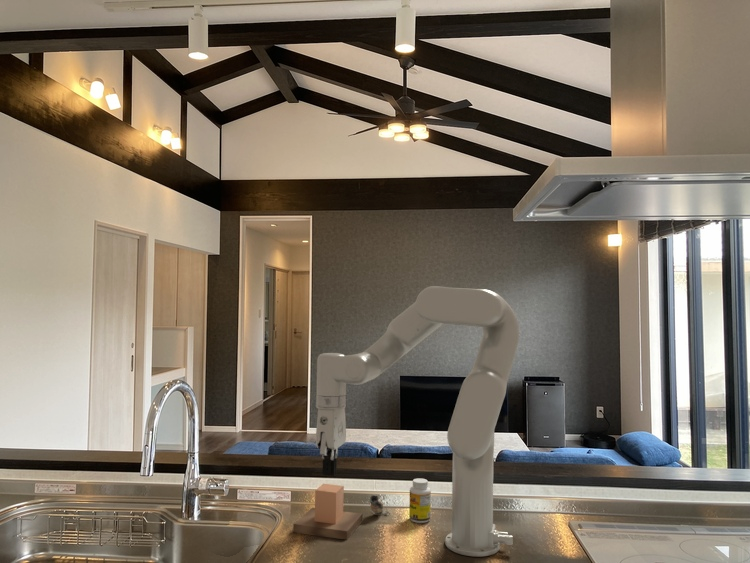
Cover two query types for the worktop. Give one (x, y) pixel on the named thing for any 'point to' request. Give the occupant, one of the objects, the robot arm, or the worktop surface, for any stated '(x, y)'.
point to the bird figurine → (377, 506)
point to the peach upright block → (329, 503)
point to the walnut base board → (328, 525)
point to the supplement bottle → (420, 501)
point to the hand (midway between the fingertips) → (329, 474)
